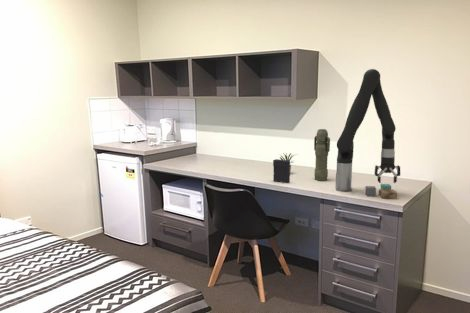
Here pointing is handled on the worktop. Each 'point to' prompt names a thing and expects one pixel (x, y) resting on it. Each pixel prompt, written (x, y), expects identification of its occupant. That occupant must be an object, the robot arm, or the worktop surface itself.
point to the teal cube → (385, 186)
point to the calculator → (281, 170)
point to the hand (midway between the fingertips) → (387, 182)
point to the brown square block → (387, 194)
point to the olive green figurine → (321, 154)
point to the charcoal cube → (370, 191)
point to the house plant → (288, 158)
